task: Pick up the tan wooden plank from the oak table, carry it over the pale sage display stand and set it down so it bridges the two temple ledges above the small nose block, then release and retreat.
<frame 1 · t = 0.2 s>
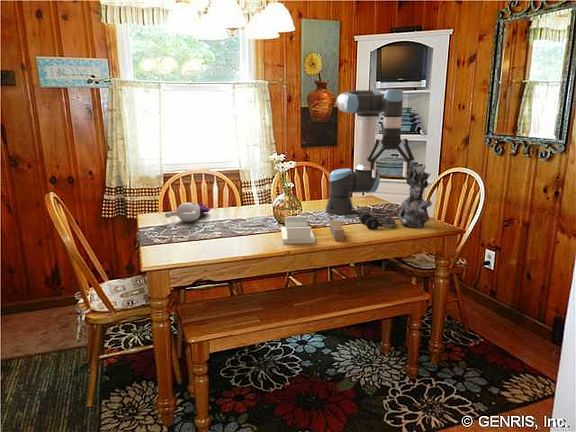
hand: (389, 177, 192), 28 cm above the table, fingers open, 13 cm apart
headset: (375, 226, 218), on the table
figurine: (192, 220, 229), on the table
display stand: (297, 236, 200), on the table
tan wooden plank: (336, 235, 202), on the table
sculpture: (413, 225, 218), on the table
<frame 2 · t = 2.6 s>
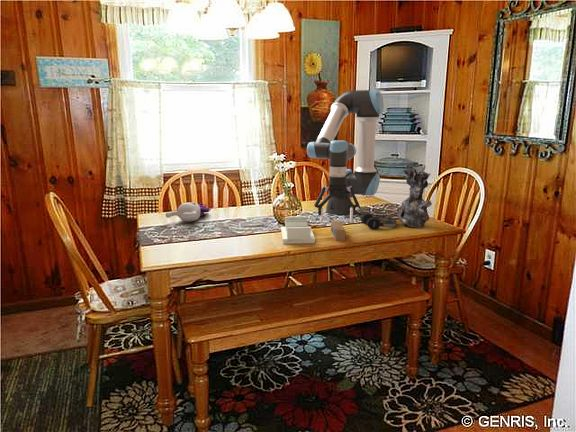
hand: (336, 222, 200), 6 cm above the table, fingers open, 13 cm apart
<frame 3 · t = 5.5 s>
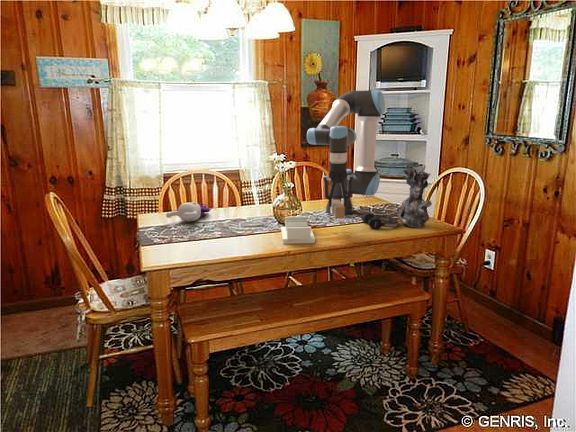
hand: (337, 213, 200), 10 cm above the table, fingers closed on tan wooden plank, 4 cm apart
tan wooden plank: (337, 214, 200), point 10 cm above the table, touching gripper
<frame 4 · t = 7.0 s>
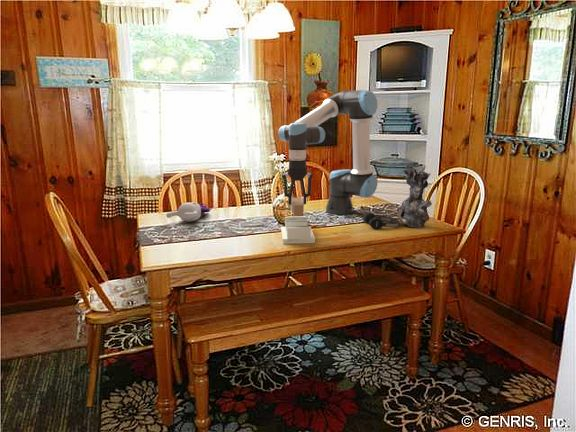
hand: (297, 211, 197), 12 cm above the table, fingers closed on tan wooden plank, 4 cm apart
tan wooden plank: (297, 212, 197), point 12 cm above the table, touching gripper
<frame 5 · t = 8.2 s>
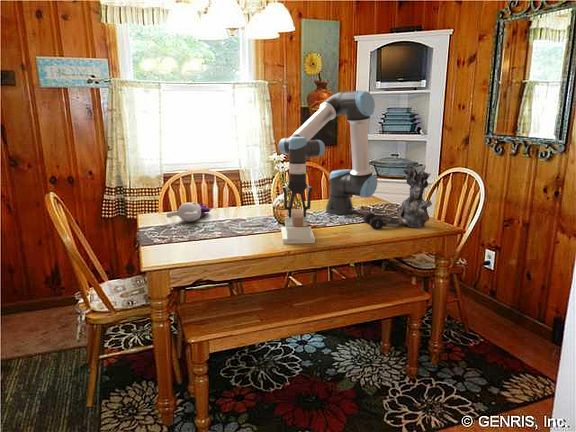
hand: (297, 224, 199), 6 cm above the table, fingers closed on tan wooden plank, 4 cm apart
tan wooden plank: (297, 223, 199), point 6 cm above the table, touching display stand, gripper
when the fingers open (6 cm above the table, at t = 8.6 s): tan wooden plank stays where it is, resting on display stand.
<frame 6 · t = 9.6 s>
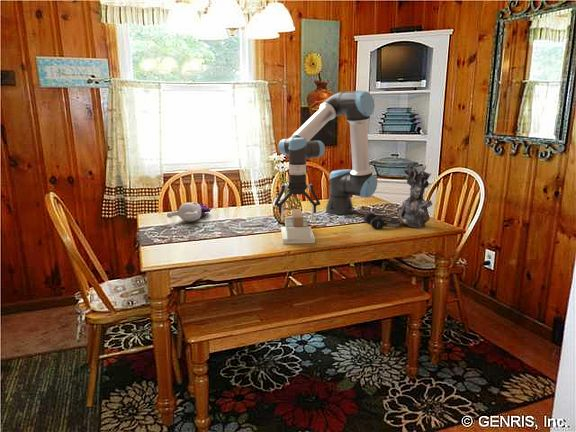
hand: (297, 220, 198), 8 cm above the table, fingers open, 13 cm apart
tan wooden plank: (297, 223, 199), point 6 cm above the table, touching display stand
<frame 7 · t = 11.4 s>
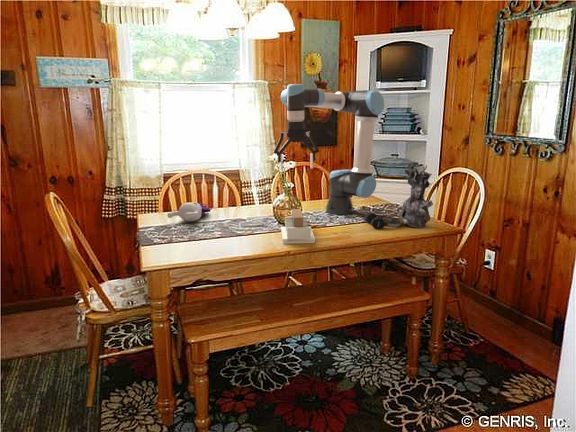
hand: (296, 168, 199), 30 cm above the table, fingers open, 13 cm apart
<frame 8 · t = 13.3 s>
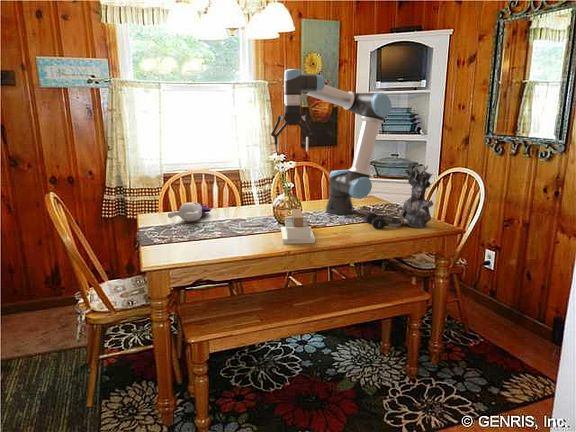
hand: (292, 151, 207), 37 cm above the table, fingers open, 13 cm apart
at the end: tan wooden plank inside the target area on the display stand (0.3 cm from its centre), point 6.1 cm above the display stand's base; tan wooden plank tilted 0°; the gripper is holding nothing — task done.
